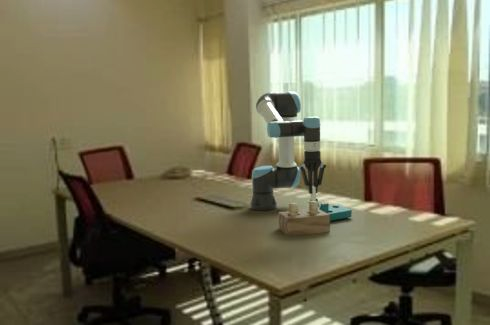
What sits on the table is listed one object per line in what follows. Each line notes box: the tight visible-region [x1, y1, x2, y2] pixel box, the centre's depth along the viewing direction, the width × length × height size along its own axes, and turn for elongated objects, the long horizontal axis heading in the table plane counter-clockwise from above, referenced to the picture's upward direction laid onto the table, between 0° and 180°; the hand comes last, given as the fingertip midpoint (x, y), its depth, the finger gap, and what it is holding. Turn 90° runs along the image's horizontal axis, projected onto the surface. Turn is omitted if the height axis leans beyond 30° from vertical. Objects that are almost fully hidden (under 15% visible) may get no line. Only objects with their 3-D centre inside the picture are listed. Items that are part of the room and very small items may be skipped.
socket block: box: [278, 208, 331, 237], centre depth 248 cm, size 14×20×8 cm
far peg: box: [308, 200, 319, 214], centre depth 249 cm, size 4×4×8 cm
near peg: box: [288, 202, 299, 216], centre depth 246 cm, size 4×4×8 cm
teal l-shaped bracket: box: [309, 197, 353, 222], centre depth 267 cm, size 18×11×10 cm, turn 117°
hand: (313, 200), depth 248 cm, fingers closed
